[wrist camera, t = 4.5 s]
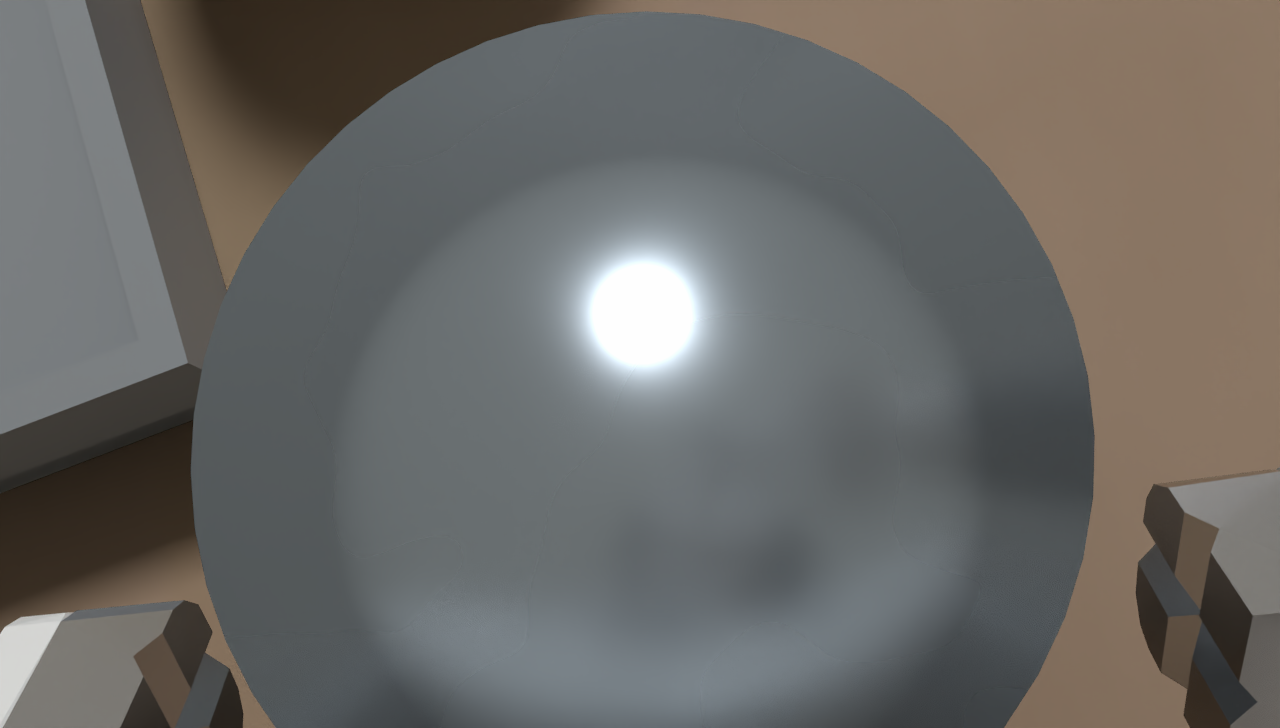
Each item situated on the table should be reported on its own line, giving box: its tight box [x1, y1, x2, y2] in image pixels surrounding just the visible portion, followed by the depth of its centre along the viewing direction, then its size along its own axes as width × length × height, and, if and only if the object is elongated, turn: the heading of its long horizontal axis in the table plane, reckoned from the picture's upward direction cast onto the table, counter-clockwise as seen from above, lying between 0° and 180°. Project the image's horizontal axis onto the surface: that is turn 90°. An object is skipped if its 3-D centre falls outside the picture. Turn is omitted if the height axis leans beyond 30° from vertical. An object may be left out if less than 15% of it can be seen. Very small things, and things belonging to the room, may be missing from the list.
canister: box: [191, 12, 1094, 728], centre depth 12 cm, size 5×5×12 cm
